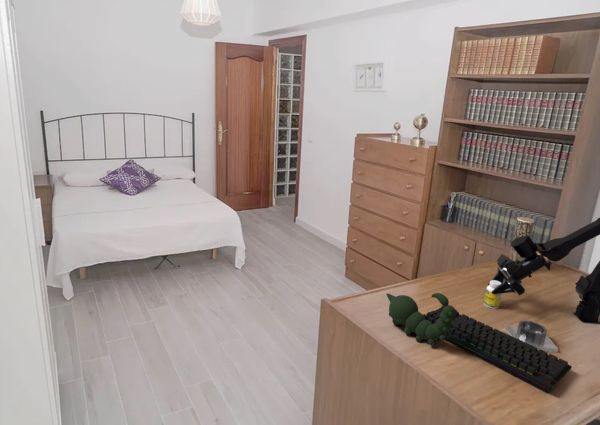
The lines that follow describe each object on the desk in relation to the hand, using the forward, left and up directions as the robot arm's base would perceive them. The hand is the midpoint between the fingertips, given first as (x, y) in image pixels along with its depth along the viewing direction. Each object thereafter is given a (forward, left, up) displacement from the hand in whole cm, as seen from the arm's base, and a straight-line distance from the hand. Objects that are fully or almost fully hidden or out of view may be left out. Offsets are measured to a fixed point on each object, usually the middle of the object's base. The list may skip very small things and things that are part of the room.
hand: (490, 289), depth 161 cm
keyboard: (+10, +29, -7) cm, 32 cm away
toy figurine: (+32, +25, -7) cm, 41 cm away
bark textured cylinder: (-24, -36, -7) cm, 44 cm away
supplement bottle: (-1, 0, -7) cm, 7 cm away
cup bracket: (-6, +22, -7) cm, 24 cm away
